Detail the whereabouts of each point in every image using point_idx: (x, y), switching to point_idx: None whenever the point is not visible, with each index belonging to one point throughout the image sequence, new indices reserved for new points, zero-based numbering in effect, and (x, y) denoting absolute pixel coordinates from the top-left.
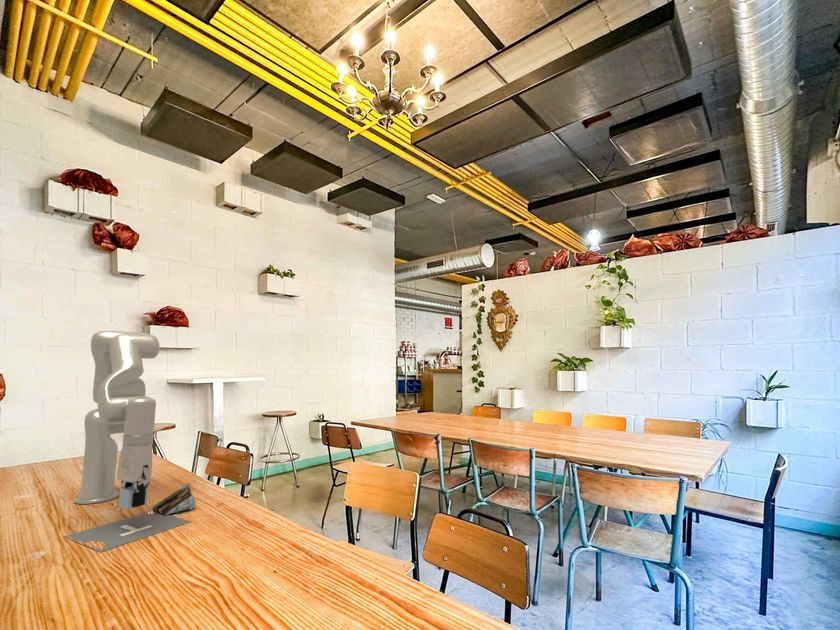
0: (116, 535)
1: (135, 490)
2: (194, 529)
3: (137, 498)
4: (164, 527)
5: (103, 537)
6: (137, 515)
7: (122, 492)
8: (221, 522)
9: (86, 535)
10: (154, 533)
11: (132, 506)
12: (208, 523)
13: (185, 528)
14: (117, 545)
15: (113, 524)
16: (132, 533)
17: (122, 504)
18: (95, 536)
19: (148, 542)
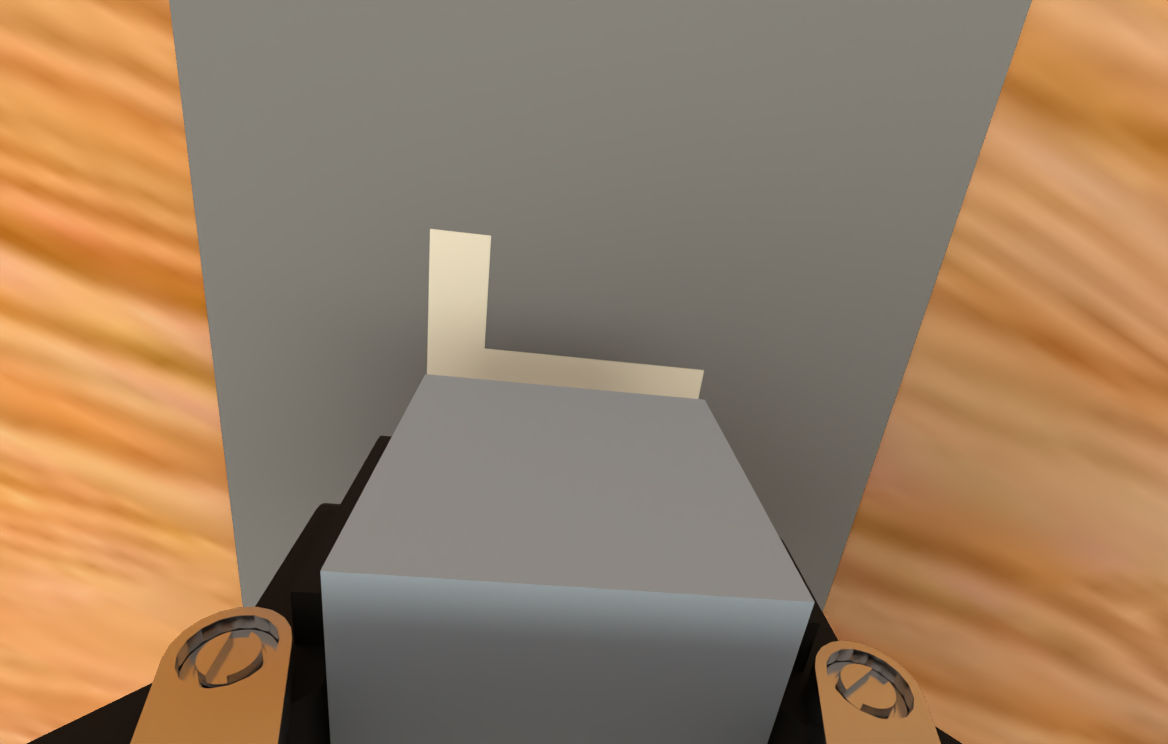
0: (505, 214)
1: (280, 664)
2: (41, 578)
3: (307, 554)
4: (304, 510)
5: (579, 123)
6: (816, 586)
7: (660, 540)
8: (29, 730)
9: (810, 80)
10: (224, 392)
11: (389, 437)
12: (92, 687)
13: (132, 564)
14: (200, 37)
15: (826, 383)
16: (412, 311)
17: (595, 411)
18: (688, 104)
19: (37, 236)
